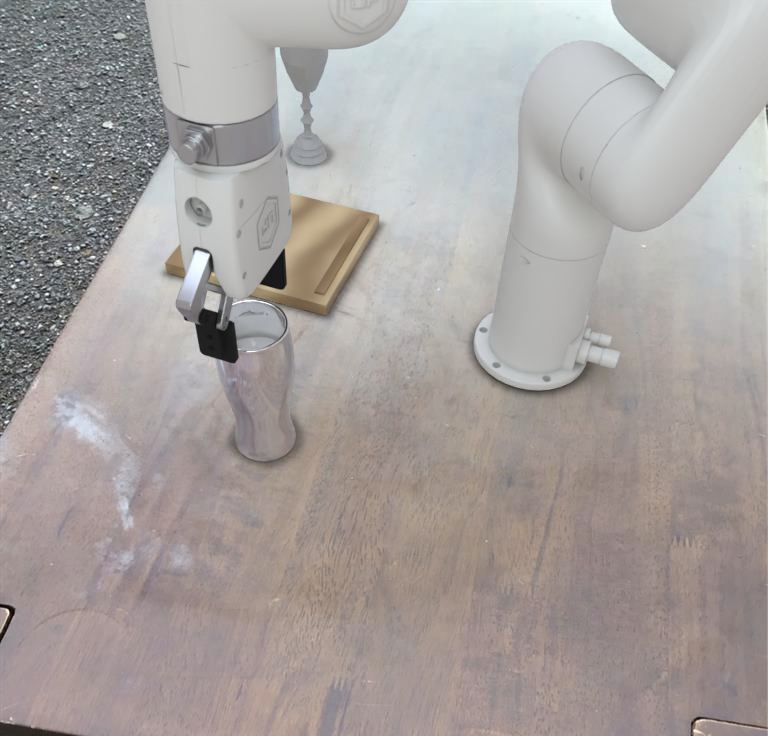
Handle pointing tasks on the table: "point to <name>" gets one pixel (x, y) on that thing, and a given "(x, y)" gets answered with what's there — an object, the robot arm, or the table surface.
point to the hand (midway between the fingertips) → (245, 319)
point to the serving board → (312, 254)
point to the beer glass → (260, 380)
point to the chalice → (306, 99)
